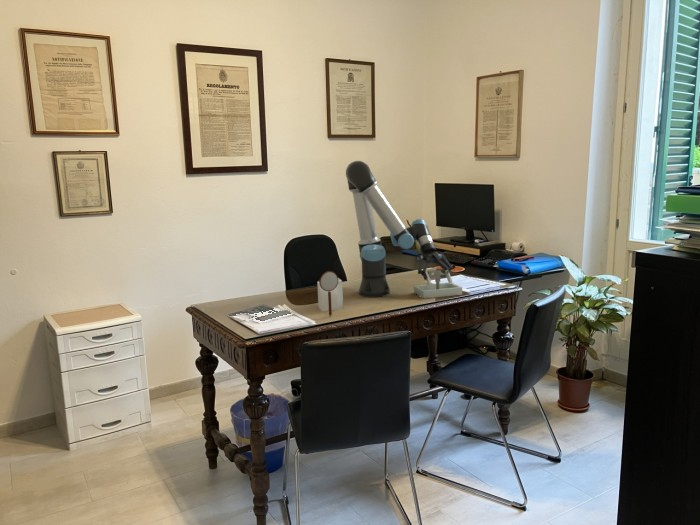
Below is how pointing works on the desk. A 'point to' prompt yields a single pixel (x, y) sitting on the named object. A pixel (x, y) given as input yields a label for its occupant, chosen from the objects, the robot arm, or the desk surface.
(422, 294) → the keeper cradle
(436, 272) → the mechanical component
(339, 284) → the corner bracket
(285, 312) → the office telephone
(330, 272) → the magnifying glass
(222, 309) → the desk surface
